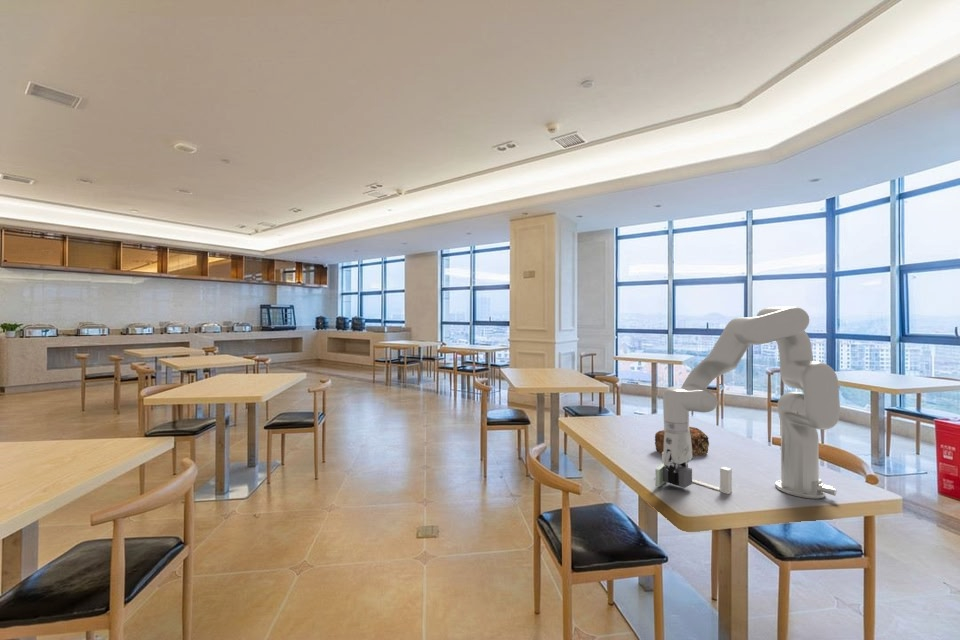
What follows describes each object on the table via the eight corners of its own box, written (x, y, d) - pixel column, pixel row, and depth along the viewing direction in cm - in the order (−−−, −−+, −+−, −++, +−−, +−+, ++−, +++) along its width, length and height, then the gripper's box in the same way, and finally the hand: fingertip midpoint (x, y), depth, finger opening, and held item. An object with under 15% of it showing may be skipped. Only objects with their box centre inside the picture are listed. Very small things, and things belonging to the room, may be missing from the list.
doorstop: (692, 484, 132) (692, 468, 132) (684, 488, 129) (684, 472, 129) (671, 477, 138) (671, 462, 138) (663, 481, 135) (663, 466, 135)
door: (659, 488, 132) (659, 468, 132) (655, 487, 133) (655, 467, 133) (675, 474, 144) (675, 456, 144) (671, 473, 145) (671, 455, 145)
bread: (691, 447, 176) (691, 424, 176) (710, 455, 166) (710, 431, 166) (653, 450, 172) (653, 427, 172) (670, 459, 161) (670, 433, 161)
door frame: (731, 492, 130) (731, 468, 130) (728, 494, 128) (728, 470, 128) (665, 471, 147) (665, 451, 147) (662, 473, 146) (662, 452, 146)
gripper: (673, 433, 125) (675, 492, 125) (700, 423, 135) (702, 478, 135) (651, 428, 131) (652, 484, 131) (678, 419, 141) (680, 472, 141)
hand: (678, 481), depth 133 cm, fingers closed on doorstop, 5 cm apart
